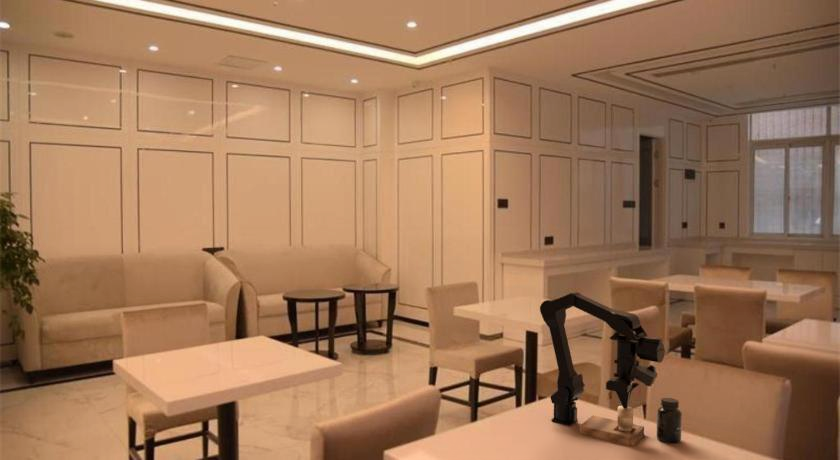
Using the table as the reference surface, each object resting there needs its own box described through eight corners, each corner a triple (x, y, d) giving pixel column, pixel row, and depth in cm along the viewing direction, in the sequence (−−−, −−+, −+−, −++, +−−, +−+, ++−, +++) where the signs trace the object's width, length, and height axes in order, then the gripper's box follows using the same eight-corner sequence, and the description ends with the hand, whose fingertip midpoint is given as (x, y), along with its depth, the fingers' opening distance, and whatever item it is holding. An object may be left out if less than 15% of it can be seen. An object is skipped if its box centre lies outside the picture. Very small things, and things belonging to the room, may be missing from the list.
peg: (615, 438, 178) (615, 408, 178) (619, 433, 181) (620, 404, 181) (630, 441, 175) (630, 411, 175) (634, 437, 179) (635, 407, 179)
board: (579, 433, 181) (580, 425, 181) (592, 423, 190) (592, 415, 190) (633, 446, 172) (633, 437, 172) (644, 434, 181) (644, 426, 181)
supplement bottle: (683, 445, 173) (684, 404, 173) (658, 443, 175) (659, 402, 174) (678, 436, 180) (679, 397, 179) (654, 434, 181) (655, 395, 181)
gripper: (645, 367, 165) (644, 422, 166) (662, 354, 180) (661, 404, 181) (605, 361, 172) (604, 414, 172) (625, 348, 187) (624, 397, 187)
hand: (625, 407), depth 178 cm, fingers closed
